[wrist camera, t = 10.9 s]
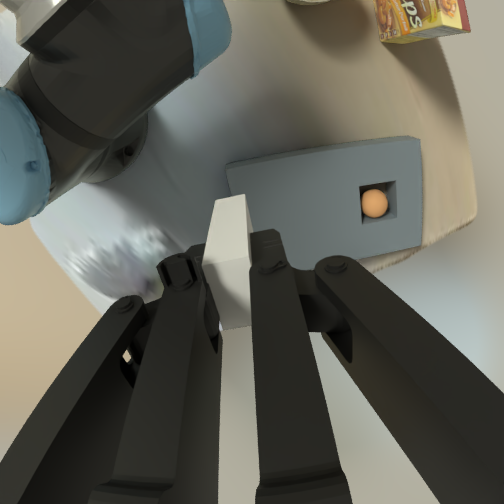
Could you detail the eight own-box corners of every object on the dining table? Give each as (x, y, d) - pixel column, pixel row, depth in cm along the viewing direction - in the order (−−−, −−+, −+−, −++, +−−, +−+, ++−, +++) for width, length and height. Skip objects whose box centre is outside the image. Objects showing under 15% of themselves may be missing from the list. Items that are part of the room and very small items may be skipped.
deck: (250, 268, 48) (251, 280, 45) (226, 164, 41) (225, 169, 38) (410, 235, 46) (421, 245, 43) (407, 135, 39) (420, 139, 36)
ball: (357, 216, 44) (371, 224, 41) (352, 190, 43) (367, 196, 39) (379, 208, 44) (394, 216, 41) (375, 183, 43) (391, 188, 39)
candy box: (368, -13, 29) (423, -49, 15) (395, -10, 29) (455, -40, 15) (379, 42, 33) (442, 25, 19) (405, 44, 33) (473, 33, 19)
